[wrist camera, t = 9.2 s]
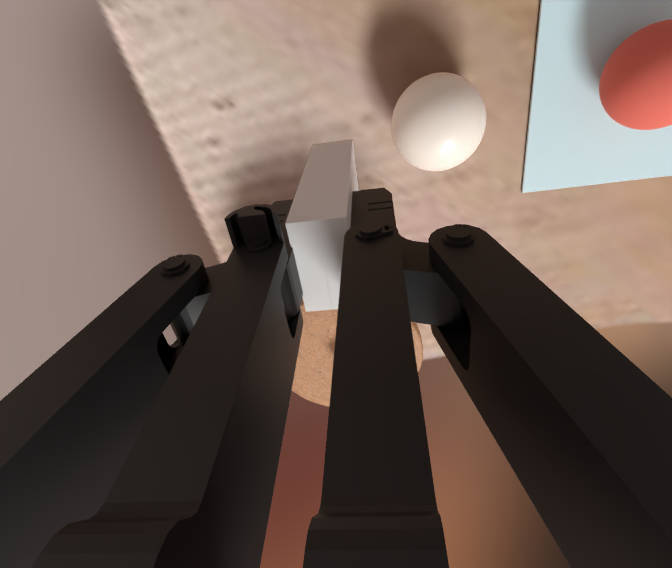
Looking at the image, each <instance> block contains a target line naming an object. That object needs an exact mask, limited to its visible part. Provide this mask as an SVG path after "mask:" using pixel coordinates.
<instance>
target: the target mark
mask: <svg viewBox="0 0 672 568" xmlns="http://www.w3.org/2000/svg"><path fill="white" fill-rule="evenodd" d="M669 19H672V0H541V3H540V13H539V23H538V33H537V43H536V53H535V63H534V73H533V83H532V93H531V103H530V113H529V123H528V133H527V143H526V153H525V163H524V173H523V183H522V193H526V192H535V191H543V190H552V189H560V188H569V187H578V186H586V185H595V184H603V183H612V182H621V181H629V180H638V179H646V178H655V177H663V176H672V125H670V126H666V127H663V128H659V129H652V130H638V129H632V128H628V127H625V126H623V125H621V124H619V123H617V122H616V121H614V120H613V119H612V118H611V117H610V116H609V115H608V114H607V113H606V111H605V110H604V108H603V106H602V104H601V100H600V95H599V83H600V78H601V74H602V71H603V69H604V67H605V64H606V62H607V61H608V59H609V57H610V56H611V54H612V53H613V52H614V51H615V49H616V48H617V47H618V46H619V45H620V44H621V43H622V42H623V41H624V40H625V39H627V38H628V37H629V36H631V35H632V34H633V33H635V32H636V31H638V30H640V29H642V28H644V27H646V26H648V25H650V24H653V23H656V22H660V21H664V20H669Z"/></svg>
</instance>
